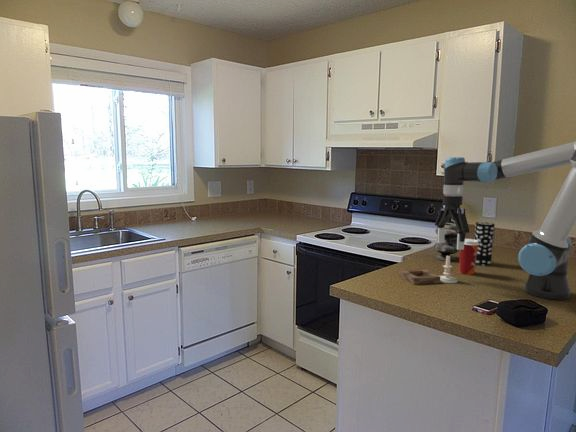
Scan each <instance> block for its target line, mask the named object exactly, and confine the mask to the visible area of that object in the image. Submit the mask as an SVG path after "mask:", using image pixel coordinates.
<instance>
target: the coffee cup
mask: <svg viewBox="0 0 576 432" xmlns="http://www.w3.org/2000/svg"><path fill="white" fill-rule="evenodd" d="M478 245H479V243H478V241H477V240H474V238H465V242H464V249H463V250H459V265H458V266H459V273H460V274H462V275H474V274H475V269H476V264H475V263H476V256H477V250H478Z"/></svg>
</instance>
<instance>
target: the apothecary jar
mask: <svg viewBox="0 0 576 432" xmlns="http://www.w3.org/2000/svg"><path fill="white" fill-rule="evenodd" d="M444 226H445V227H443V228H445V235H444V243H438V236H437V239H436V243H435V244H434V245H433V249H434V250H435V251H436V252H437V253H440V254H439V255H435V257H434V258H435V259H436V260H440V261H445V262H446V257H447V256H448V255H449V256H450V262H452V261H457V260H456V257H455V256H453V254H457V253H458V252H460V250H457V236H458V232H459V231H458V229H457V226H456V224H455V223H452V222H446V224H445V225H444ZM435 233H436V235H438V227H436V228H435Z"/></svg>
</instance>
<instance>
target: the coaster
mask: <svg viewBox="0 0 576 432" xmlns="http://www.w3.org/2000/svg"><path fill="white" fill-rule="evenodd" d="M438 276H439V277H441V276H442V275H438ZM449 276H450V277H453V280H443V279H441V278H440V283H442V284H443V283H444V284H456V283H458V282H459V279H458V278H456V277H455V276H451V275H449Z"/></svg>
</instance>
